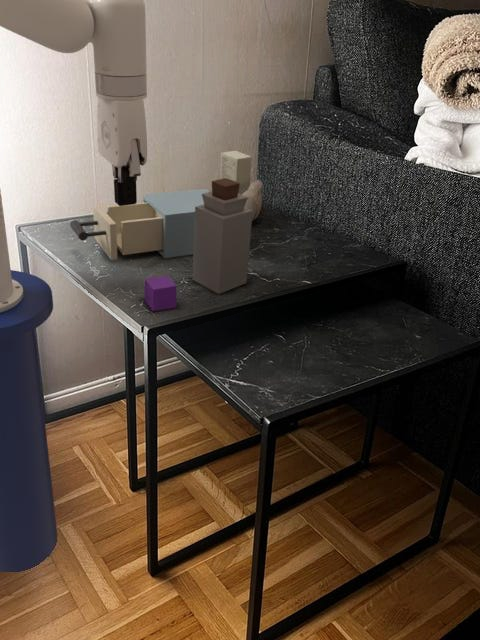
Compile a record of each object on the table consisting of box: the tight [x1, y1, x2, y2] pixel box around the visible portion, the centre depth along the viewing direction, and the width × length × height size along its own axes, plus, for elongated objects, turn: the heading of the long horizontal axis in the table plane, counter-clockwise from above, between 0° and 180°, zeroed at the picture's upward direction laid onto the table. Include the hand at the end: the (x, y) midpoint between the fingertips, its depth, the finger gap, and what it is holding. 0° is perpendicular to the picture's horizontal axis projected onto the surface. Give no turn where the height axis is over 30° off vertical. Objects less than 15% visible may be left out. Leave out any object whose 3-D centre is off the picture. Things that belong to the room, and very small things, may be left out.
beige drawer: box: [69, 201, 164, 261], centre depth 114 cm, size 18×10×7 cm, turn 118°
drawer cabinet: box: [142, 188, 211, 259], centre depth 120 cm, size 14×12×9 cm
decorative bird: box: [241, 179, 266, 222], centre depth 132 cm, size 5×16×8 cm, turn 163°
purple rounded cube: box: [143, 274, 178, 312], centre depth 98 cm, size 4×4×4 cm
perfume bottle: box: [192, 178, 253, 295], centre depth 104 cm, size 7×7×18 cm
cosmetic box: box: [219, 150, 253, 194], centre depth 139 cm, size 6×4×12 cm
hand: (125, 203), depth 100 cm, fingers closed
